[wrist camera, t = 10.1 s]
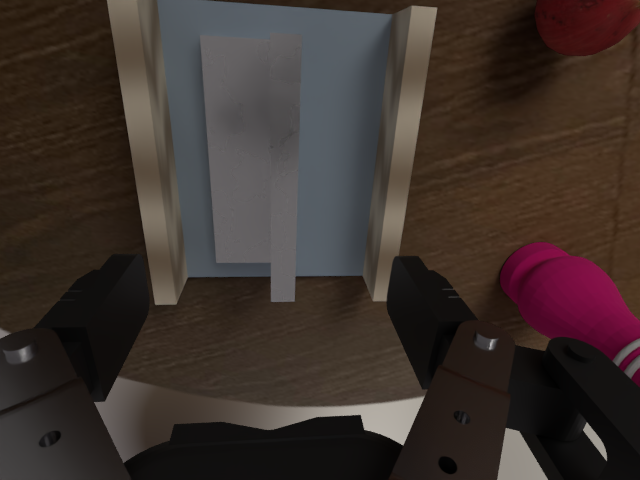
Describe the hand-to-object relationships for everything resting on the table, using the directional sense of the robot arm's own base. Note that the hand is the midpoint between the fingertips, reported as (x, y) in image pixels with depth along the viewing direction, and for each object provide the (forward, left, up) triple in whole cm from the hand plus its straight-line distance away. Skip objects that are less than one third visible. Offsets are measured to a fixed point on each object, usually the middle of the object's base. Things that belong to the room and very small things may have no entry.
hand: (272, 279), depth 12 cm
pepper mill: (+10, +24, -18) cm, 32 cm away
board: (0, 0, -18) cm, 18 cm away
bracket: (0, -2, -18) cm, 18 cm away
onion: (-11, +19, -18) cm, 29 cm away
